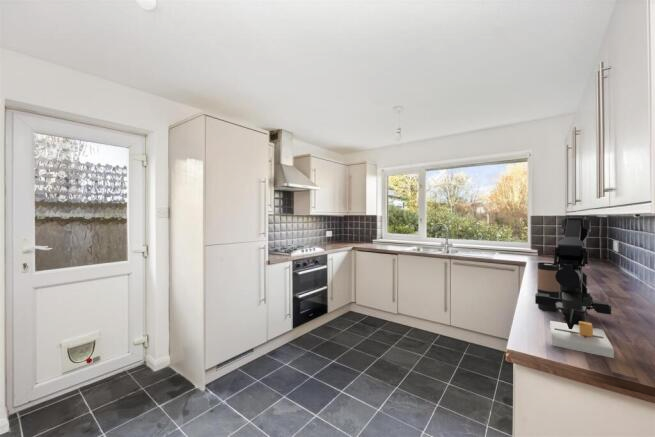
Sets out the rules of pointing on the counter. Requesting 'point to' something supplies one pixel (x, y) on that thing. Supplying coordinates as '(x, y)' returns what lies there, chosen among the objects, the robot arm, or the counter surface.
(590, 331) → the fader knob
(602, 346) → the fader console
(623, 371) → the counter surface
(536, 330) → the counter surface
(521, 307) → the counter surface
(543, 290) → the travel mug
